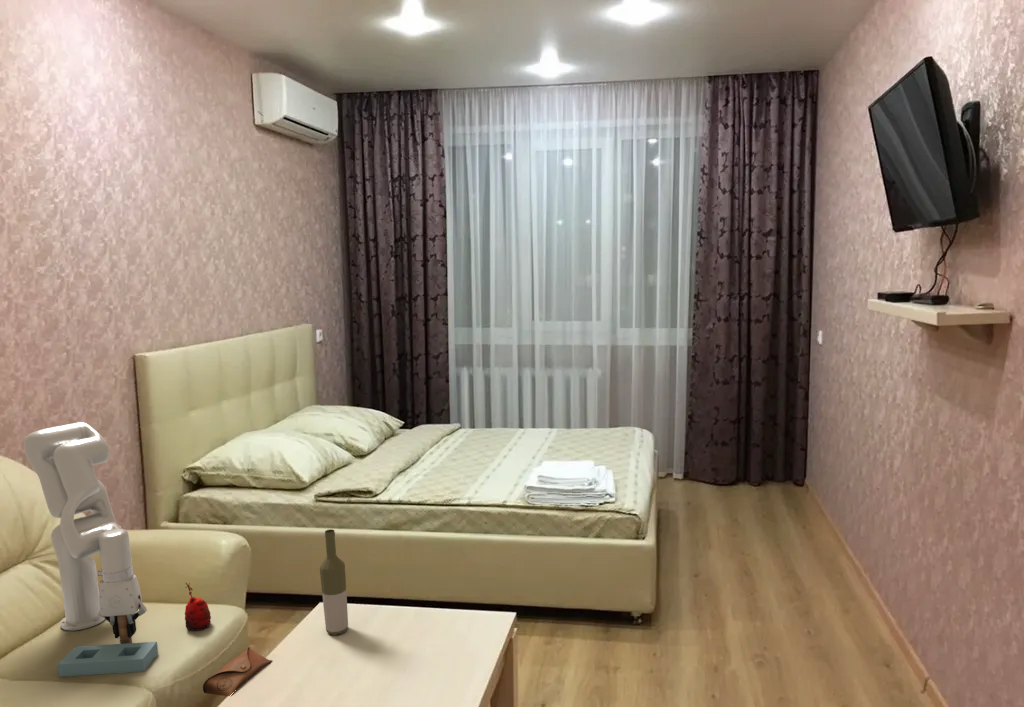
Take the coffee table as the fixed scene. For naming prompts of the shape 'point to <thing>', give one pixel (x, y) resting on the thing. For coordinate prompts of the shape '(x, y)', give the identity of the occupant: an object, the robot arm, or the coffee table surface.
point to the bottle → (334, 588)
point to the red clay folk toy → (196, 613)
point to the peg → (123, 629)
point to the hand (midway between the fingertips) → (125, 635)
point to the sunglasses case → (235, 673)
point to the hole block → (108, 659)
